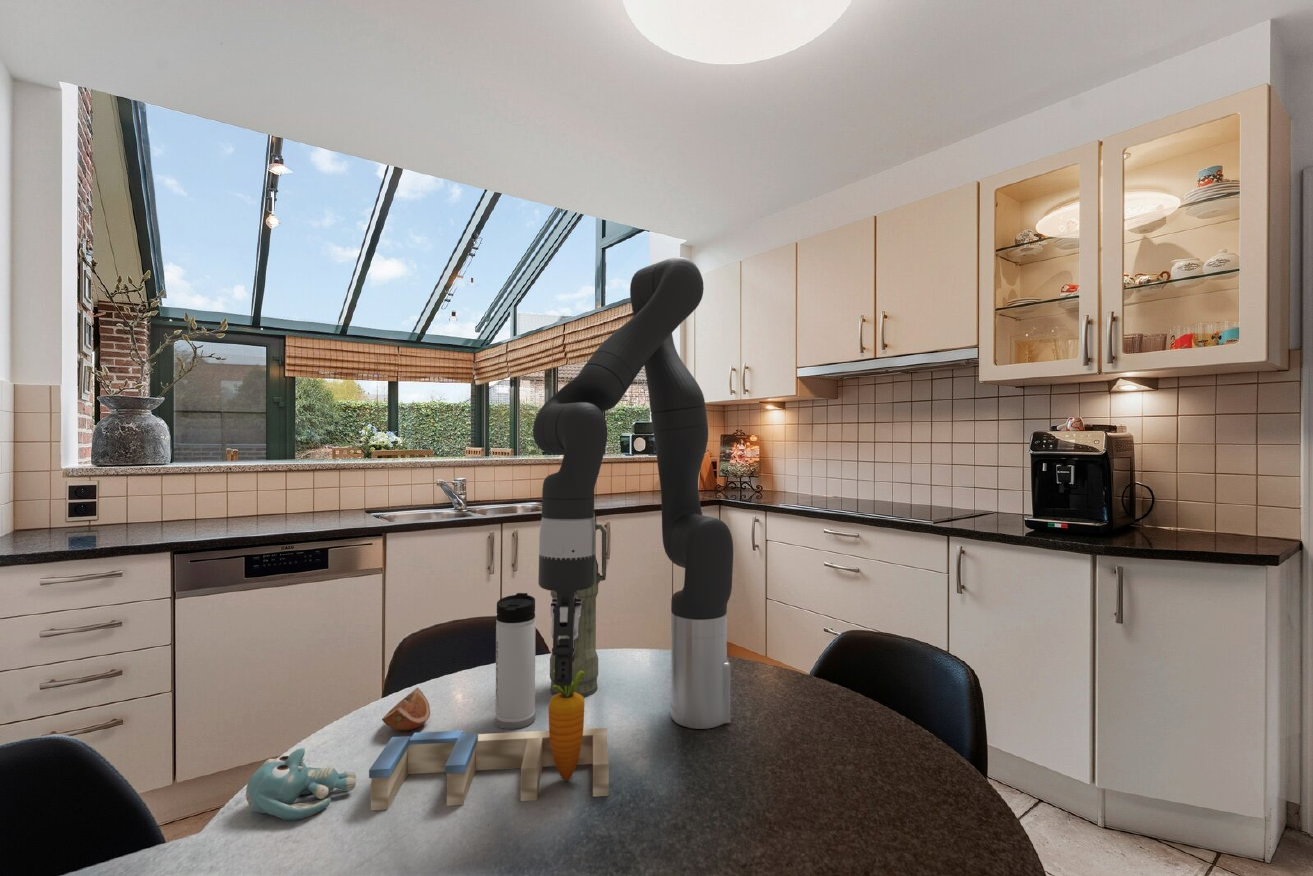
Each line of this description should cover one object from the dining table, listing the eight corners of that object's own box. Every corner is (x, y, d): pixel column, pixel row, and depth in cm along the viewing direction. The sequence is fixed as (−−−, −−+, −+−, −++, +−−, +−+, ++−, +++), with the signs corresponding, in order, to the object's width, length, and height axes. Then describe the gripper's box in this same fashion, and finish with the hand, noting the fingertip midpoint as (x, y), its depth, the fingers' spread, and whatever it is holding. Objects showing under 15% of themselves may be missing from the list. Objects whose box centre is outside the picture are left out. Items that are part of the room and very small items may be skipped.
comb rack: (606, 755, 86) (606, 720, 86) (608, 796, 76) (608, 756, 76) (396, 767, 83) (396, 730, 83) (368, 811, 72) (369, 770, 73)
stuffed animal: (362, 767, 73) (247, 770, 68) (349, 828, 72) (231, 836, 67) (363, 730, 82) (262, 730, 77) (351, 784, 82) (249, 788, 77)
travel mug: (540, 712, 100) (540, 593, 101) (528, 730, 94) (528, 602, 94) (504, 710, 101) (505, 592, 101) (489, 729, 94) (490, 601, 95)
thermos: (541, 682, 113) (542, 498, 114) (603, 678, 115) (604, 497, 116) (540, 701, 105) (541, 501, 105) (607, 696, 107) (608, 501, 108)
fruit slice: (416, 741, 90) (416, 708, 90) (371, 741, 90) (372, 708, 90) (436, 717, 98) (436, 686, 99) (396, 717, 98) (396, 686, 99)
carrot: (591, 775, 81) (591, 663, 81) (574, 794, 76) (575, 676, 76) (558, 768, 82) (559, 659, 83) (540, 787, 78) (541, 671, 78)
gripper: (595, 560, 73) (593, 693, 73) (595, 543, 88) (593, 654, 87) (533, 560, 73) (530, 694, 72) (543, 543, 87) (541, 655, 86)
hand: (565, 672), depth 80 cm, fingers open, 8 cm apart
